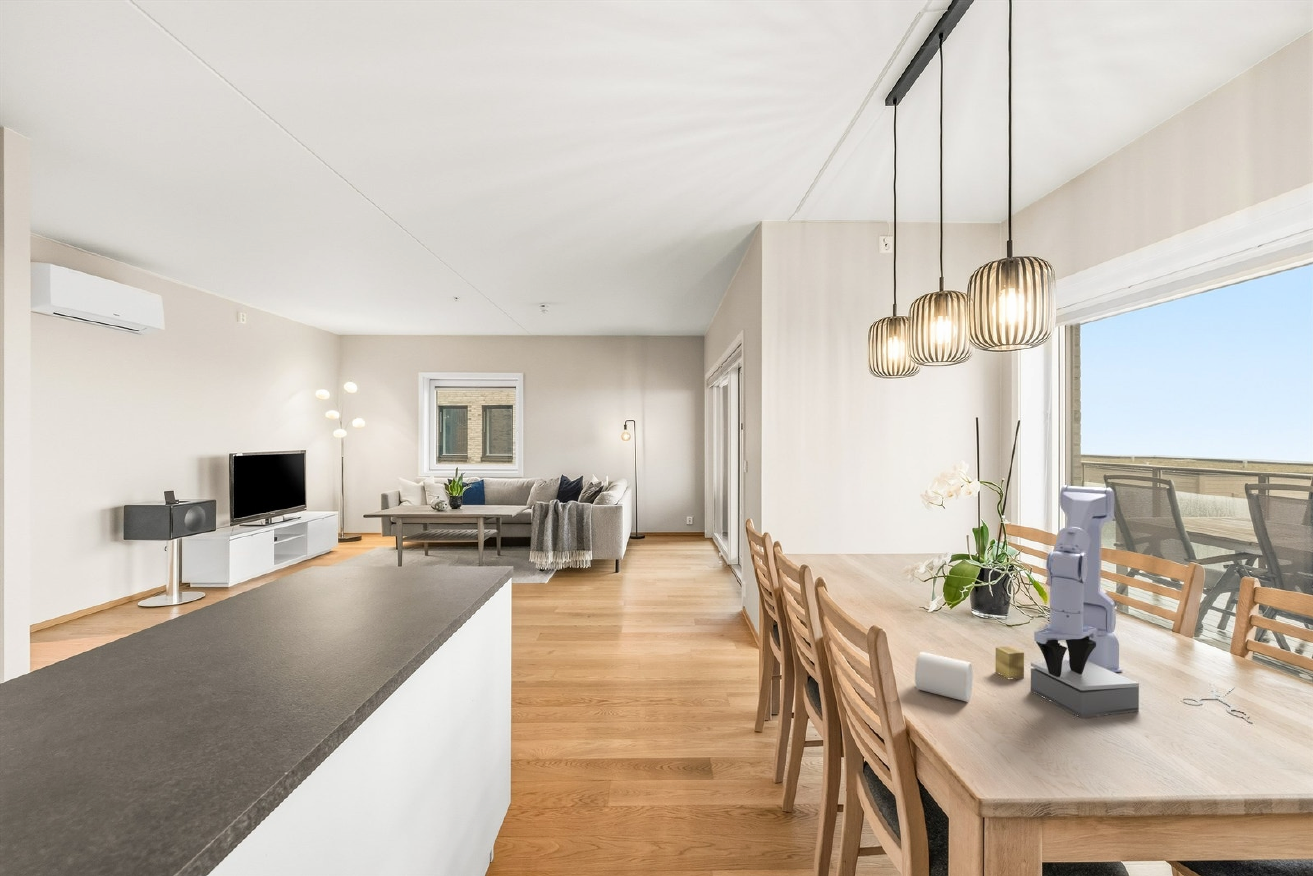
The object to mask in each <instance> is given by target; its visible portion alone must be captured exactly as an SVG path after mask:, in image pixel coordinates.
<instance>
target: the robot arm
mask: <svg viewBox="0 0 1313 876" xmlns="http://www.w3.org/2000/svg"><path fill="white" fill-rule="evenodd" d="M1115 500H1116V499H1115V491H1114V490H1113V489H1112V487H1107V488H1106V487H1105V488H1104V487H1093V486H1092V487H1091V486H1076V485H1067V484H1066V485H1063V486H1062V487H1061V489H1060V492H1059V506H1060V508H1061V511H1063V514H1065V516H1066V517H1067V521H1066V527H1063V528H1062V529H1060V530H1059V531H1058V534H1057V538H1056V541H1055V545H1054V547H1053V551H1052V552H1048V554H1047V557H1046V563H1045V564H1046V565H1045V569H1046V574H1047V586H1049V623H1047V624H1045V628H1042V629H1040V630H1037V631H1035V630H1034V633H1033V634H1034V635H1033V640H1034V641H1035V643H1036V644H1037V646H1038V647H1039V649H1040V651H1041V653H1042V656H1043V658H1044V662H1046V665H1047V668H1048V672H1049V674H1051V675H1053V676H1056V677H1060V676H1061V671H1062V661H1069V664H1070V669H1071V671H1073V672H1076V673H1078V674H1082V673H1083V670H1084V667H1085V664H1086V661H1088V662H1091V663H1093V664H1095V665H1098V666H1100V667H1103V668H1105V669H1107V670H1110V671H1112V672H1114V673H1118V672H1119V673H1120V672H1123V668H1120V643H1119V640H1118V638H1117V636H1116V635H1115V633H1114V632H1115V631H1116V624H1117V623H1116V622H1117V612H1116V608H1115V606H1116V603H1115V601H1114V600H1113V598H1111V597H1109V595H1108V594H1107V595H1106V594H1105V593H1103V592H1102V591H1101V590H1100V588H1101V579H1102V576H1101V574H1102V573H1101V571H1102V531H1103V527H1104V524H1105V523H1110V522H1112V521H1114V520H1113V519H1114V518H1115ZM1086 602H1089V603H1086ZM1091 603H1095V604H1091ZM1097 604H1100V605H1097ZM1059 641H1065V643H1066V646H1064V645H1061V643H1060V642H1059ZM1067 651H1068V658H1065V654H1066V652H1067Z"/></svg>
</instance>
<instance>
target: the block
mask: <svg viewBox="0 0 1313 876" xmlns="http://www.w3.org/2000/svg"><path fill="white" fill-rule="evenodd" d="M996 672H997V673H996ZM995 673H996V674H998V673H1000V674H1002V675H1003V676H1004V678H1005V677H1006V678H1005V679H1007V678H1020V679H1025V652H1024V651H1022V650H1020V649H1017V648H1015V647H1013V646H1012V645H1011V646H1010V645H1006V646H995ZM1003 676H1002V677H1003Z"/></svg>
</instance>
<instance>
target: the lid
mask: <svg viewBox="0 0 1313 876" xmlns="http://www.w3.org/2000/svg"><path fill="white" fill-rule="evenodd" d="M1030 667H1032V668H1036V669H1038V670H1040V671H1042V672H1044V673H1046V674H1048V675H1050V676H1052V677H1054V678H1056V679H1058V680H1061V681H1063V682H1065V683H1067V684H1069V685H1071V686H1073V687H1075V688H1077V689H1079V690H1098V689H1114V688H1131V687H1139V688H1140V682H1137V681H1135V680H1133V679H1131V678H1128V677H1125V675H1124V676H1123V675H1121V674H1118V672H1112V671H1110V670H1107V669H1105V668H1103V667H1100V666H1098V665H1095V664H1093V663H1091V662H1088V661H1086V664H1085V667H1084V670H1083V673H1082V674H1078V673H1076V672H1073V671H1071V669H1070V664H1069V661H1062V671H1061V676H1060V677H1056V676H1053V675H1051V674H1049V672H1048V668H1047V665H1046V661H1033V662H1030Z"/></svg>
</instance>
